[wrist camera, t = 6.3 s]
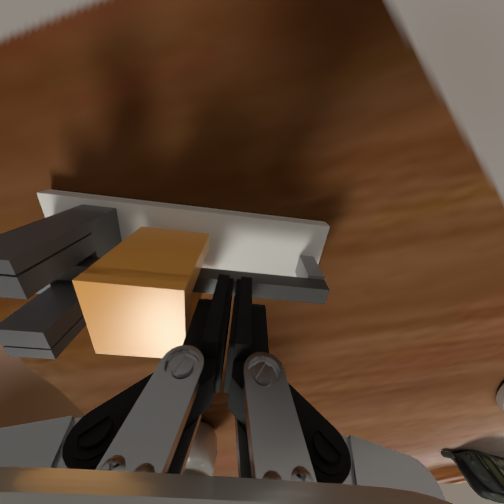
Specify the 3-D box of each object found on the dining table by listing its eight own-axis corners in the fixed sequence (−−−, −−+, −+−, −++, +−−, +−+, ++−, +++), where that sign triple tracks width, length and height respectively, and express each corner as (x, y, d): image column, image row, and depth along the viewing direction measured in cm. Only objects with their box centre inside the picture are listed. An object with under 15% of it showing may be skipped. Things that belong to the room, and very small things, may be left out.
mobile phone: (560, 504, 29) (486, 495, 26) (539, 510, 30) (466, 503, 27) (518, 456, 34) (451, 444, 30) (501, 464, 35) (435, 452, 32)
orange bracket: (209, 233, 13) (184, 290, 8) (207, 287, 15) (186, 359, 10) (141, 226, 12) (71, 280, 8) (148, 281, 14) (96, 353, 9)
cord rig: (325, 221, 15) (388, 287, 8) (304, 290, 17) (338, 383, 11) (50, 189, 13) (-147, 235, 7) (75, 268, 16) (-48, 357, 9)
